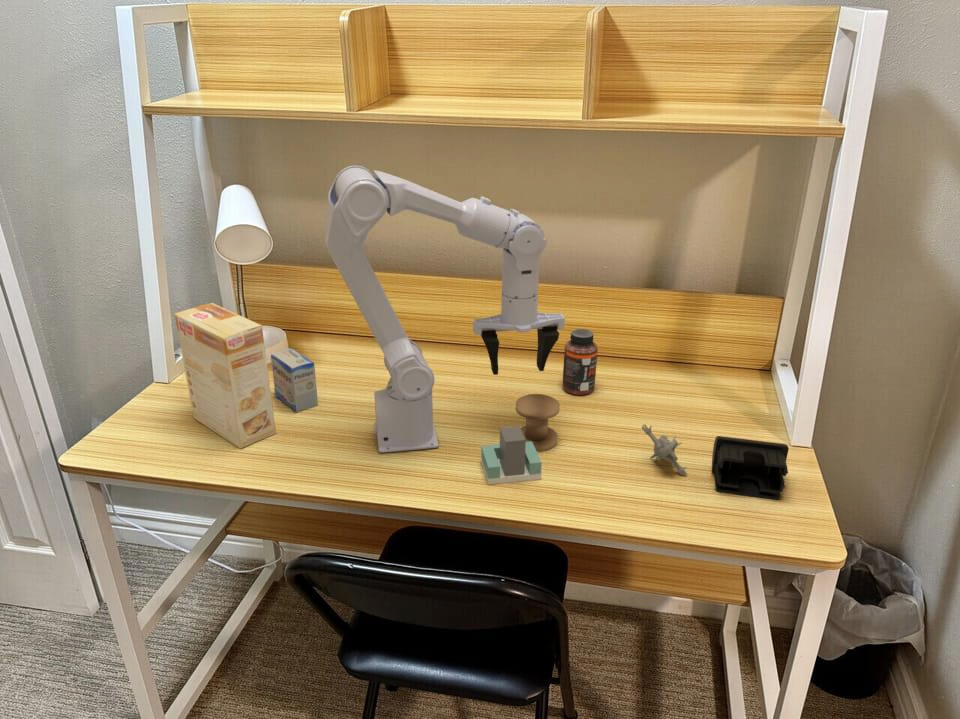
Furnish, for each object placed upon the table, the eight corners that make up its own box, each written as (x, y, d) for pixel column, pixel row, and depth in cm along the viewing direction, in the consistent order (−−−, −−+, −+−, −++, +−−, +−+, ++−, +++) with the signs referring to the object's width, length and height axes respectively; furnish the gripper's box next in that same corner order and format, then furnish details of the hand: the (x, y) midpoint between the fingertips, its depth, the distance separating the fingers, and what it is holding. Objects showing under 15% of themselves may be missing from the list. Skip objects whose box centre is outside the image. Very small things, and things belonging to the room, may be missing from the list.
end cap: (778, 474, 115) (786, 436, 112) (784, 502, 108) (792, 462, 105) (710, 465, 117) (716, 428, 114) (712, 492, 110) (718, 453, 108)
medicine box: (274, 397, 136) (269, 353, 132) (296, 389, 139) (291, 346, 135) (296, 413, 131) (291, 368, 127) (319, 405, 133) (314, 361, 130)
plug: (504, 476, 112) (505, 441, 109) (499, 461, 115) (500, 427, 113) (524, 474, 112) (525, 440, 110) (518, 459, 116) (519, 426, 113)
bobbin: (519, 453, 119) (521, 417, 117) (510, 430, 126) (511, 395, 123) (562, 449, 121) (564, 413, 118) (551, 427, 127) (553, 392, 124)
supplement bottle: (593, 398, 136) (598, 340, 131) (560, 394, 137) (563, 338, 132) (595, 383, 141) (600, 327, 136) (563, 380, 142) (567, 324, 137)
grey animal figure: (702, 456, 119) (701, 467, 111) (672, 478, 121) (669, 492, 112) (660, 407, 121) (656, 415, 112) (631, 430, 122) (625, 439, 114)
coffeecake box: (278, 433, 125) (263, 324, 116) (239, 450, 120) (222, 338, 111) (229, 403, 134) (212, 300, 125) (192, 418, 129) (172, 312, 120)
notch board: (488, 484, 112) (488, 467, 110) (481, 462, 117) (481, 445, 116) (540, 479, 113) (541, 462, 112) (531, 457, 118) (532, 441, 117)
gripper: (478, 304, 113) (478, 384, 119) (571, 298, 115) (567, 377, 121) (470, 288, 119) (471, 365, 125) (559, 283, 122) (555, 359, 128)
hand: (517, 370), depth 124 cm, fingers open, 7 cm apart
